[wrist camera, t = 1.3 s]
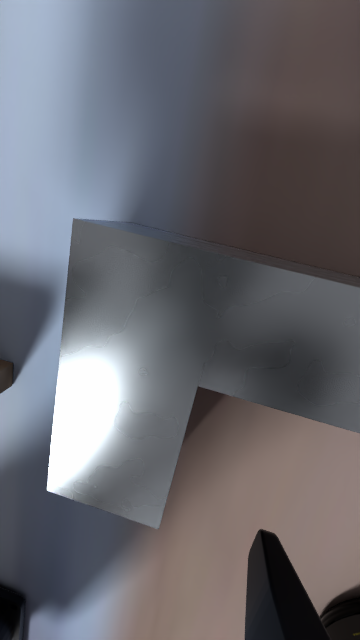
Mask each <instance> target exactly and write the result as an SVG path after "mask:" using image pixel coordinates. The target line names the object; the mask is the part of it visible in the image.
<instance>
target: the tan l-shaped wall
mask: <svg viewBox="0 0 360 640" xmlns="http://www.w3.org/2000/svg"><path fill="white" fill-rule="evenodd" d="M12 378H13V363H11V362H8V361H4V360H1V359H0V394H1V393H2V392H3V391H5V390H6V389H8V388H9V387H11V386H12Z"/></svg>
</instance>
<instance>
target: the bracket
mask: <svg viewBox="0 0 360 640" xmlns="http://www.w3.org/2000/svg"><path fill="white" fill-rule="evenodd" d="M198 386H199V387H202V388H206V389H209V390H213V391H216V392H219V393H223V394H226V395H230V396H233V397H237V398H240V399H243V400H247V401H250V402H254V403H257V404H261V405H264V406H268V407H271V408H274V409H278V410H281V411H285V412H288V413H292V414H295V415H299V416H302V417H305V418H309V419H312V420H316V421H319V422H323V423H326V424H329V425H333V426H336V427H340V428H343V429H347V430H350V431H354V432H357V433H360V277H356V276H352V275H347V274H343V273H339V272H335V271H331V270H326V269H322V268H318V267H314V266H310V265H306V264H301V263H297V262H293V261H289V260H285V259H280V258H276V257H272V256H268V255H264V254H259V253H255V252H251V251H247V250H243V249H238V248H234V247H230V246H226V245H222V244H218V243H213V242H209V241H205V240H201V239H197V238H192V237H188V236H184V235H180V234H176V233H171V232H167V231H163V230H159V229H155V228H150V227H146V226H142V225H138V224H134V223H129V222H117V221H103V220H89V219H74V218H73V225H72V236H71V246H70V256H69V266H68V277H67V287H66V297H65V308H64V318H63V328H62V339H61V349H60V359H59V369H58V380H57V390H56V400H55V411H54V421H53V431H52V442H51V452H50V462H49V472H48V483H47V491H49V492H52V493H55V494H58V495H61V496H63V497H66V498H69V499H72V500H75V501H78V502H81V503H84V504H87V505H89V506H92V507H95V508H98V509H101V510H104V511H107V512H110V513H113V514H115V515H118V516H121V517H124V518H127V519H130V520H133V521H136V522H139V523H141V524H144V525H147V526H150V527H153V528H156V529H159V526H160V522H161V519H162V515H163V511H164V508H165V504H166V500H167V497H168V493H169V489H170V486H171V482H172V478H173V475H174V471H175V467H176V464H177V460H178V456H179V453H180V449H181V446H182V442H183V438H184V435H185V431H186V427H187V424H188V420H189V416H190V413H191V409H192V405H193V402H194V398H195V394H196V391H197V387H198Z"/></svg>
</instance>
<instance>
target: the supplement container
mask: <svg viewBox="0 0 360 640" xmlns="http://www.w3.org/2000/svg"><path fill="white" fill-rule="evenodd" d="M321 621H322V623H323V625H324V627H325V629H326V631H327V633H328V634H329V636H330V638H331V640H360V598H356V599H351V600H347V601H344V602H342V603H339V604H337V605H335V606H334V607H332V608H331V609H329V610H328V611H327V612H326V613H325V614H324V615H323V617H322V618H321Z"/></svg>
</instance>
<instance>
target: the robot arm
mask: <svg viewBox="0 0 360 640" xmlns="http://www.w3.org/2000/svg"><path fill="white" fill-rule="evenodd" d="M24 612H25V599H24V598H23V597H22V596H21V595H19V594H16V593H14V592H11V591H8V590H6V589H3V588H0V640H22V637H23V624H24ZM245 640H331V638H330V636H329V634H328V633H327V631H326V629H325V627H324V625H323V623H322V621H321V619H320V617H319V615H318V613H317V612H316V610H315V608H314V606H313V604H312V602H311V600H310V598H309V596H308V594H307V592H306V590H305V589H304V587H303V585H302V583H301V581H300V579H299V577H298V575H297V573H296V571H295V569H294V568H293V566H292V564H291V562H290V560H289V558H288V556H287V554H286V552H285V550H284V548H283V546H282V545H281V543H280V541H279V539H278V537H277V536H276V535H275V534H274V533H272V532H269V531H266V530H263V529H260V530H259V531H258V532H257V535H256V537H255V539H254V542H253V544H252V546H251V549H250V552H249V557H248V573H247V595H246V617H245Z"/></svg>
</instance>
